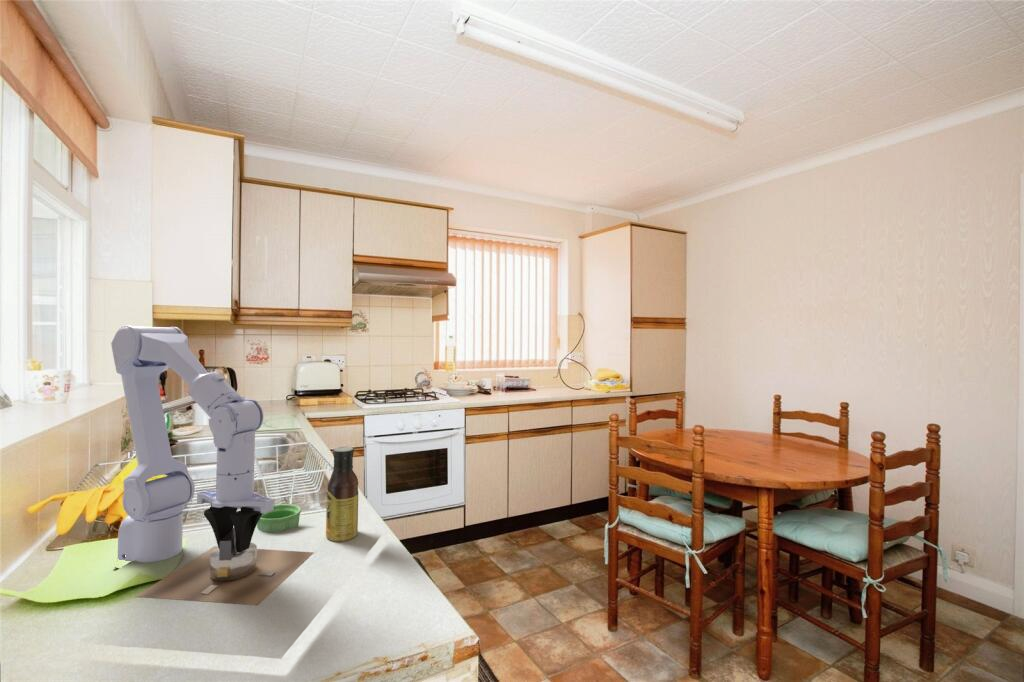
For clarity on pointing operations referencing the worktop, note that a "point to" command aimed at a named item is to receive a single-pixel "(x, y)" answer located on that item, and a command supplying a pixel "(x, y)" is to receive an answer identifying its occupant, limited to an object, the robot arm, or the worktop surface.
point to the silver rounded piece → (232, 560)
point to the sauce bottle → (342, 497)
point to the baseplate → (247, 590)
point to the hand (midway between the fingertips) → (233, 548)
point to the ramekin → (280, 518)
